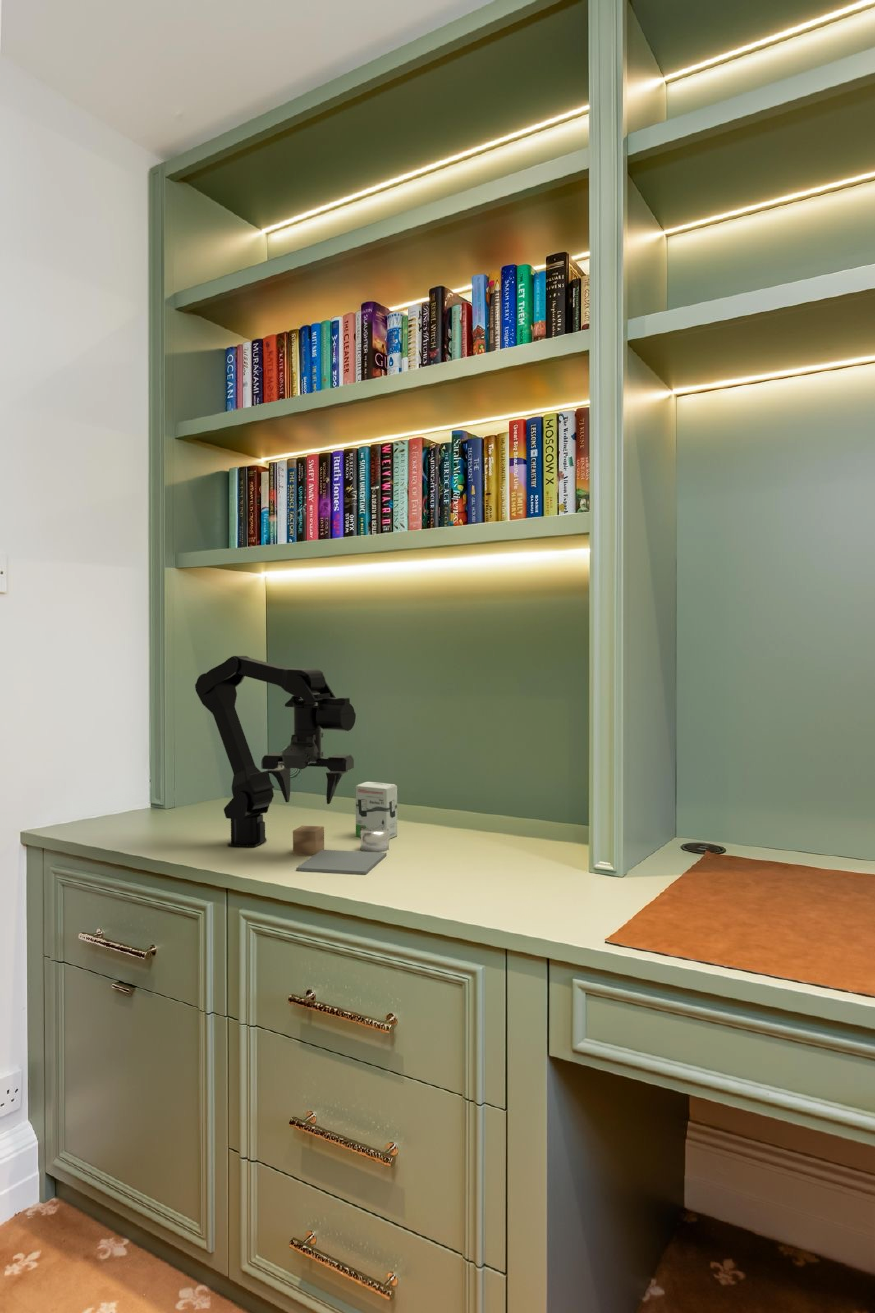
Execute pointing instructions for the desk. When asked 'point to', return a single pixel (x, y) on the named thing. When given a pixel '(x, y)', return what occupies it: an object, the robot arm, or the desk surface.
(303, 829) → the walnut block
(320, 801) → the desk surface
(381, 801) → the ink box
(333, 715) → the robot arm
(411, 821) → the desk surface
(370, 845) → the tin
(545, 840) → the desk surface
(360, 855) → the mat
